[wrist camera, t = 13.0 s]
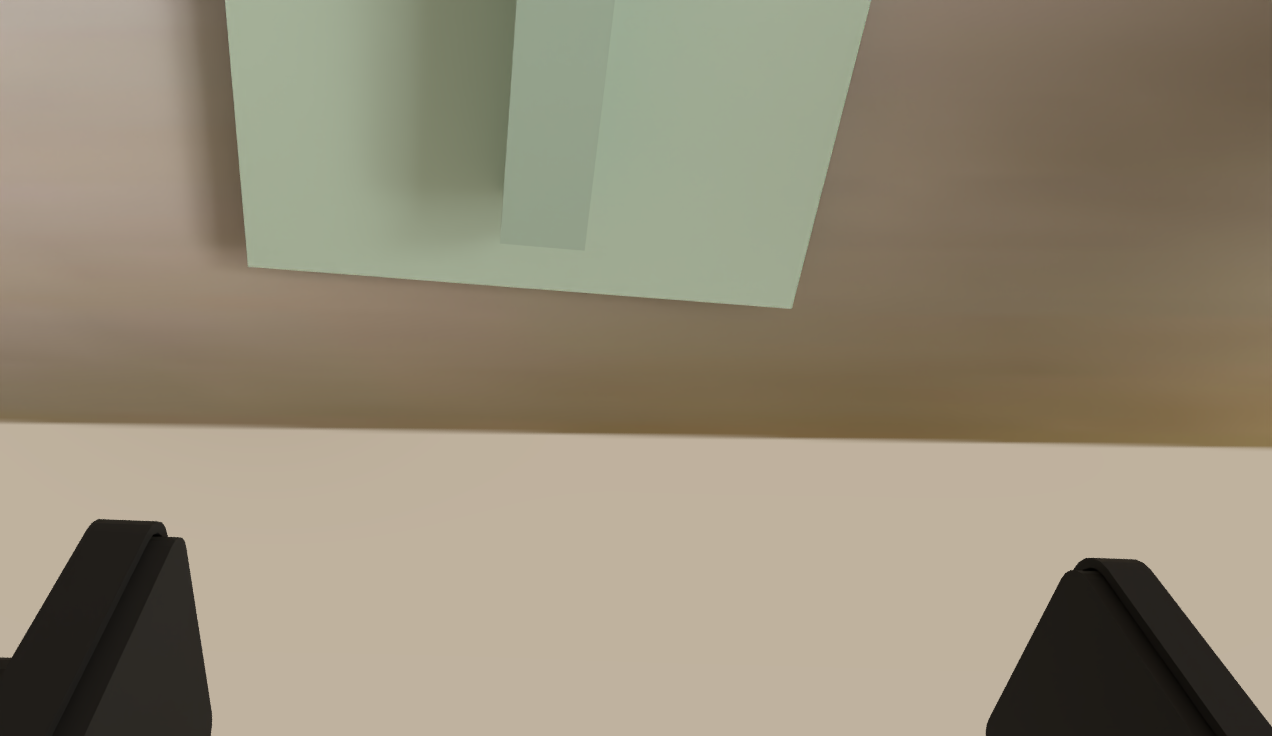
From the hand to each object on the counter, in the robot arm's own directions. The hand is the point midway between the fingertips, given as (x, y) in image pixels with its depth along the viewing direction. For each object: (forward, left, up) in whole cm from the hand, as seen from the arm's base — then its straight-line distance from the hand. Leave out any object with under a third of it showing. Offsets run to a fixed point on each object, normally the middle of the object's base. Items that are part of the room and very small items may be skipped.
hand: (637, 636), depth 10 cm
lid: (0, 0, -25) cm, 25 cm away
